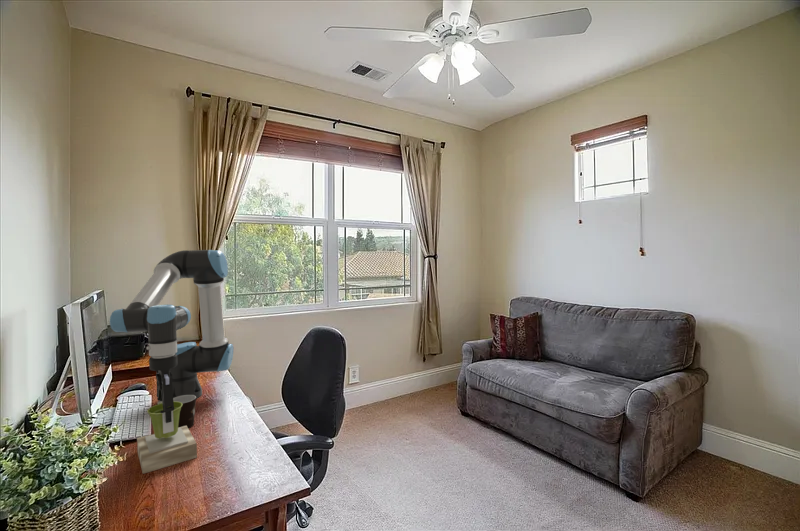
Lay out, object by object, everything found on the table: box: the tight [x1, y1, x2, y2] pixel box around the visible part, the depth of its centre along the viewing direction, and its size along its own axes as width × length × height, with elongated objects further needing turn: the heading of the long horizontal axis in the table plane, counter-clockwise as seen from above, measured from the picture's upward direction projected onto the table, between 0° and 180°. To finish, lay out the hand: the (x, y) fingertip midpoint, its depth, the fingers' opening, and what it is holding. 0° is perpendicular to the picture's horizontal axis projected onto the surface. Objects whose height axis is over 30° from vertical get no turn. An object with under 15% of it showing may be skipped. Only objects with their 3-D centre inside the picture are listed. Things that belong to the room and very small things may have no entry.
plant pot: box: [146, 401, 183, 439], centre depth 121 cm, size 9×9×9 cm
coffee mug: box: [173, 395, 197, 429], centre depth 143 cm, size 12×9×10 cm
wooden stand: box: [136, 425, 198, 474], centre depth 121 cm, size 16×14×5 cm
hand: (165, 426), depth 121 cm, fingers closed on plant pot, 9 cm apart
